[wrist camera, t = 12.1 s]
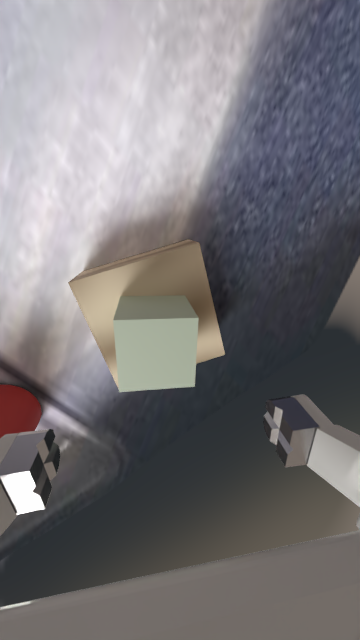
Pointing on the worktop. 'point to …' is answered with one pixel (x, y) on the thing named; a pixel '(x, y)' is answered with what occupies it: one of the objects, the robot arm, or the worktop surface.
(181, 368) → the sage block
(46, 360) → the worktop surface
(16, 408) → the beer can
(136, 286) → the birch block
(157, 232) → the worktop surface
